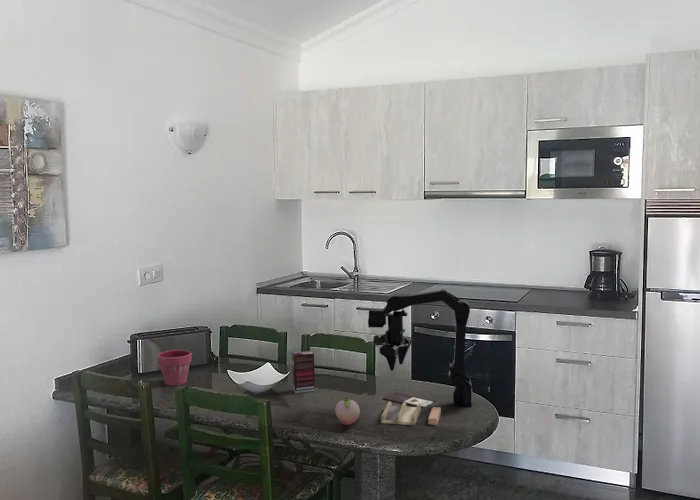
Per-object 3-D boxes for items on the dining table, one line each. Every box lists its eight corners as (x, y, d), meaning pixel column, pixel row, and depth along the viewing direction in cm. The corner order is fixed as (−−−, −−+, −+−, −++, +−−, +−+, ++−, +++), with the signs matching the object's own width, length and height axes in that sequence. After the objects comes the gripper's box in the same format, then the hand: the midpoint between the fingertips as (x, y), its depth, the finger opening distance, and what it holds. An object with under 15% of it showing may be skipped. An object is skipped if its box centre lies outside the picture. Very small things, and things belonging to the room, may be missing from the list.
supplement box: (312, 387, 280) (312, 350, 278) (315, 391, 275) (314, 353, 274) (292, 389, 278) (291, 352, 276) (294, 393, 273) (293, 355, 271)
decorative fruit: (363, 428, 233) (362, 400, 232) (340, 431, 231) (340, 402, 230) (355, 419, 242) (354, 392, 241) (333, 421, 240) (332, 394, 239)
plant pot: (186, 376, 300) (185, 347, 299) (197, 383, 288) (195, 354, 287) (154, 381, 293) (153, 352, 292) (163, 389, 281) (162, 359, 280)
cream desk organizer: (420, 410, 250) (420, 403, 250) (415, 425, 235) (414, 418, 235) (388, 408, 253) (388, 401, 253) (381, 423, 238) (381, 416, 237)
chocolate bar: (396, 392, 271) (434, 400, 259) (396, 394, 271) (434, 403, 259) (383, 398, 264) (421, 407, 252) (383, 400, 264) (421, 409, 252)
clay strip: (440, 414, 247) (440, 407, 246) (436, 425, 235) (436, 418, 235) (432, 413, 247) (432, 407, 247) (428, 425, 236) (428, 418, 236)
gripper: (385, 321, 269) (386, 359, 270) (366, 331, 252) (367, 371, 254) (411, 323, 264) (412, 362, 266) (393, 333, 247) (394, 374, 249)
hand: (396, 367), depth 259 cm, fingers open, 9 cm apart
